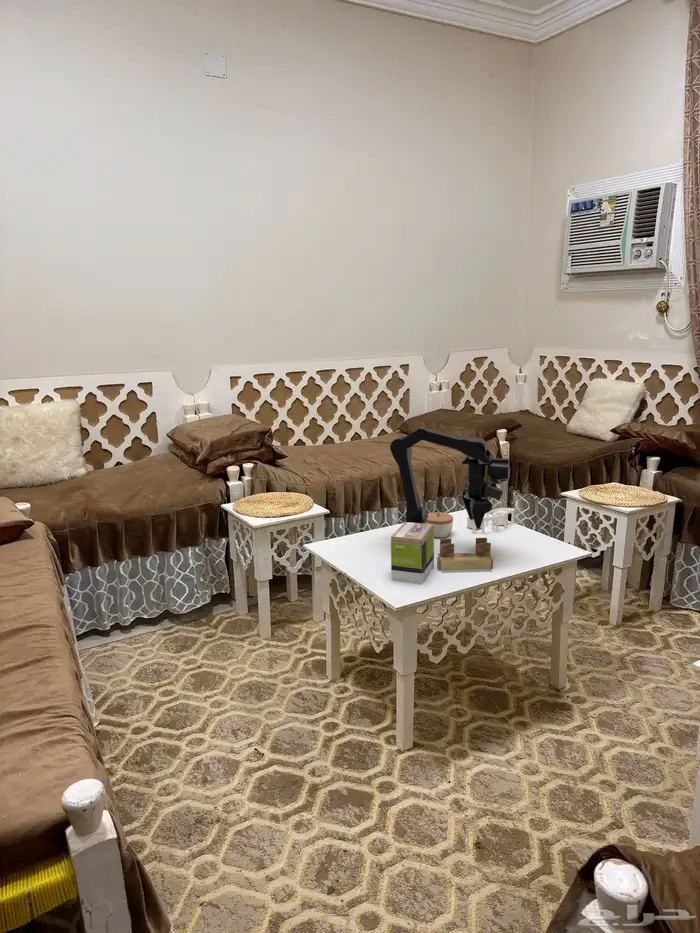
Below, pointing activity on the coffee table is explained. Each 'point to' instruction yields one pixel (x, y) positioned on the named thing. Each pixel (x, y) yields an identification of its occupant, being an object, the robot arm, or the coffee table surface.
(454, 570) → the mat
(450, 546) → the stand
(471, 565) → the rail
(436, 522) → the lidded jar
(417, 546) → the tea box
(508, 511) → the skeletal toy car
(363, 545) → the coffee table surface
